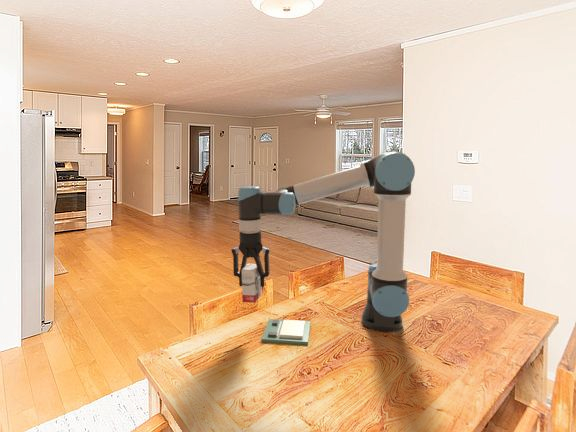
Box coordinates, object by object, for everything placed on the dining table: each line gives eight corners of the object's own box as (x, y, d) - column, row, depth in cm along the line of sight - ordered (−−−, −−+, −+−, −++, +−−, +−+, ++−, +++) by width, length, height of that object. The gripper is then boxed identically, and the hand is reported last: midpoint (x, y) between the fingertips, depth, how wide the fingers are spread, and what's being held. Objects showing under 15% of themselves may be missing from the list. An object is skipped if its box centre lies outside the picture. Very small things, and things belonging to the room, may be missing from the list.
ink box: (255, 303, 132) (254, 270, 130) (242, 302, 132) (240, 269, 131) (262, 294, 140) (261, 263, 138) (249, 293, 141) (248, 262, 139)
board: (310, 323, 145) (310, 318, 145) (307, 344, 129) (307, 339, 129) (268, 321, 147) (268, 316, 146) (261, 341, 131) (261, 336, 131)
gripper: (277, 229, 135) (278, 291, 139) (227, 228, 137) (230, 290, 141) (274, 233, 127) (275, 299, 131) (221, 233, 129) (224, 298, 133)
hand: (252, 294), depth 136 cm, fingers closed on ink box, 5 cm apart
